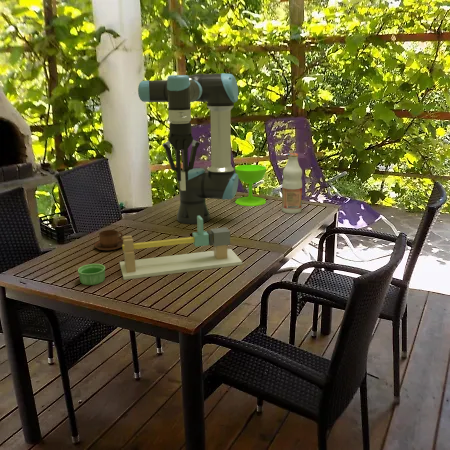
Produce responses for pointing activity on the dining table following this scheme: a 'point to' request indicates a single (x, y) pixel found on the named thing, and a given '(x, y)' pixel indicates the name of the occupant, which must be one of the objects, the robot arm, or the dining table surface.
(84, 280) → the ramekin
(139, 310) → the dining table surface
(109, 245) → the cup and saucer
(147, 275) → the cord rig
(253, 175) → the wineglass
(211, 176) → the robot arm
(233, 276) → the dining table surface
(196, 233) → the sleeve
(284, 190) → the fruit juice
